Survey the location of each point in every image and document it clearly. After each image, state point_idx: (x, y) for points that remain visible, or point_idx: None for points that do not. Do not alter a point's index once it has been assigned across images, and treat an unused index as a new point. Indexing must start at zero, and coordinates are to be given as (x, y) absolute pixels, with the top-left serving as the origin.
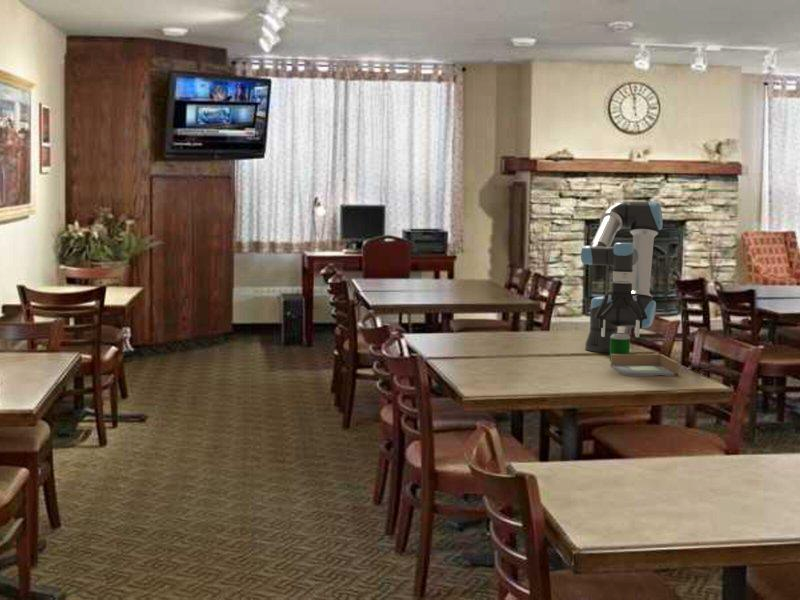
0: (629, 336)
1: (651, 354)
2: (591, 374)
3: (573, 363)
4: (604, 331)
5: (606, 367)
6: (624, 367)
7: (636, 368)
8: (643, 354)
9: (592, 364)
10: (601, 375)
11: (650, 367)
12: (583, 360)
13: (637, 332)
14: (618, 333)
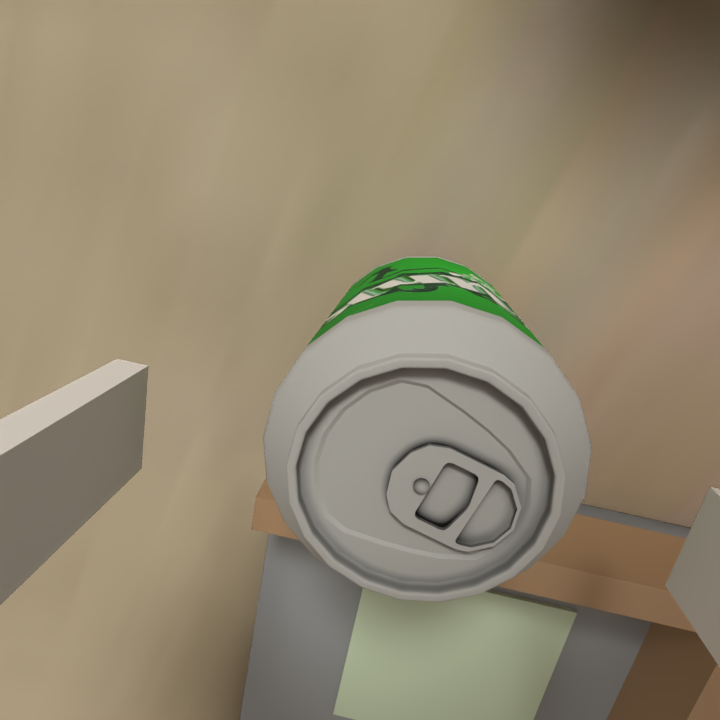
0: (552, 544)
1: (656, 610)
2: (53, 654)
3: (29, 223)
4: (81, 517)
5: (242, 457)
6: (325, 596)
7: (383, 667)
8: (570, 592)
9: (179, 304)
10: (104, 692)
11: (514, 659)
12: (166, 56)
13: (711, 651)
14: (450, 369)
